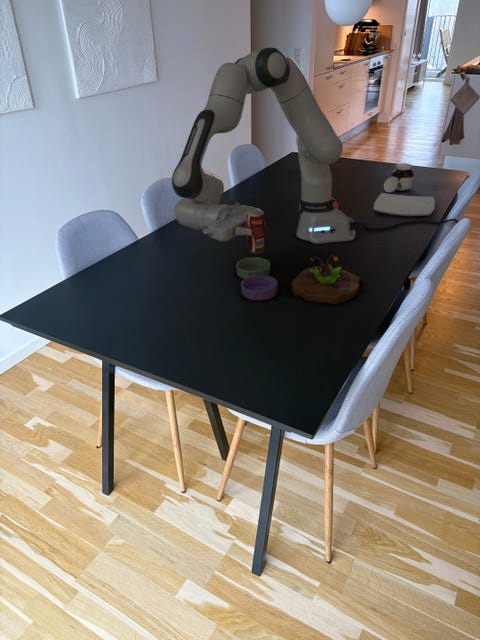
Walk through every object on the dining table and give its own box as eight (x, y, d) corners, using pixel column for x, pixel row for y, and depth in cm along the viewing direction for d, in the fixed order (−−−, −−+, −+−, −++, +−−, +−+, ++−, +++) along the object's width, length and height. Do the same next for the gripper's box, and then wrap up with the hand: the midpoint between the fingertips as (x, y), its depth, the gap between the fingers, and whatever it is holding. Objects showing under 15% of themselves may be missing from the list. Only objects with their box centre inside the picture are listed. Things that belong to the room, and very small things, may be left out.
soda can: (246, 247, 144) (245, 209, 138) (263, 246, 145) (263, 208, 138) (248, 254, 140) (247, 215, 134) (266, 253, 140) (265, 214, 134)
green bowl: (270, 265, 162) (270, 256, 161) (269, 280, 153) (269, 271, 151) (238, 265, 163) (237, 257, 162) (235, 280, 154) (235, 271, 152)
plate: (369, 215, 199) (370, 209, 197) (378, 197, 218) (379, 192, 216) (432, 221, 190) (433, 214, 189) (435, 202, 209) (436, 196, 208)
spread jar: (413, 189, 227) (417, 164, 220) (406, 195, 219) (410, 170, 212) (388, 186, 232) (391, 161, 226) (381, 192, 224) (384, 167, 218)
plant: (344, 310, 135) (347, 274, 129) (282, 295, 144) (282, 261, 139) (368, 281, 149) (371, 248, 143) (310, 269, 159) (312, 237, 153)
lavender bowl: (277, 283, 151) (277, 274, 149) (277, 301, 141) (277, 291, 140) (242, 284, 152) (242, 275, 150) (240, 301, 142) (239, 291, 141)
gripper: (197, 220, 136) (237, 229, 129) (238, 200, 150) (276, 207, 143) (199, 241, 139) (238, 250, 133) (239, 219, 154) (276, 227, 147)
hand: (258, 228), depth 138 cm, fingers closed on soda can, 5 cm apart
